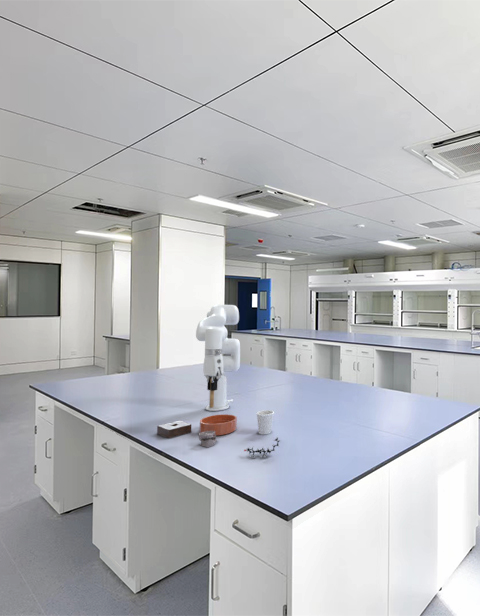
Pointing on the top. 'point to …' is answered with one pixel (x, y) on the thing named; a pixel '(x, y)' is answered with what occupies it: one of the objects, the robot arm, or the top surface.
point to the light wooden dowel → (211, 396)
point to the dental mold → (207, 438)
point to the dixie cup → (265, 421)
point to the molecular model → (262, 449)
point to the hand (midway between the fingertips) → (212, 389)
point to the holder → (174, 429)
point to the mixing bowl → (219, 424)
